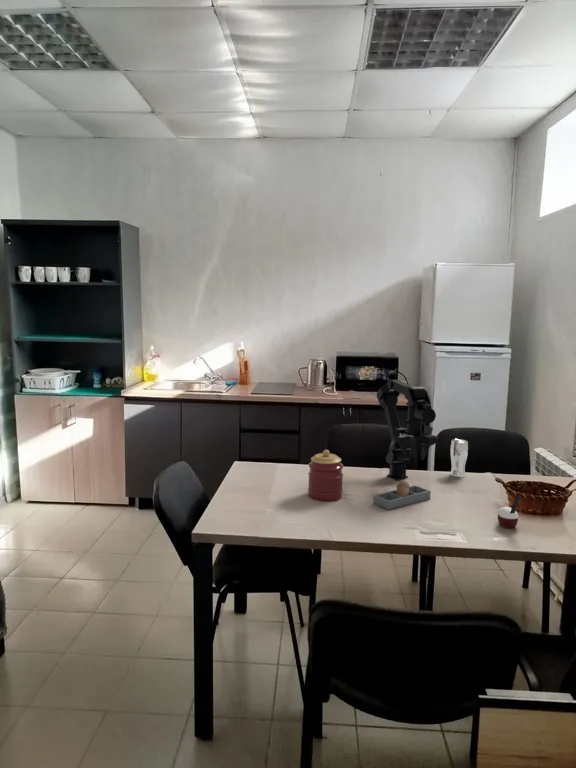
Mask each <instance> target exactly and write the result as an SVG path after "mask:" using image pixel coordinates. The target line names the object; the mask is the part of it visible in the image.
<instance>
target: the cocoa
mask: <svg viewBox="0 0 576 768" xmlns="http://www.w3.org/2000/svg"><path fill="white" fill-rule="evenodd" d="M521 497H522V495H521V494H518V495H516V496H515V499H514V501H513V504H512V505H511V507H510V506H501V507H499V508H498V509H497V520H498V524H499V525H500V526H501V527H502V526H503V527H502V528H505V527H506V528H505V529H513V528H515V527H516V526H517V524H518V522H519V514H518V512H517V508H518V505H519V502H520V500H521Z"/></svg>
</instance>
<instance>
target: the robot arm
mask: <svg viewBox="0 0 576 768" xmlns="http://www.w3.org/2000/svg"><path fill="white" fill-rule="evenodd" d="M400 395H403V396H404V398H405V399H406V400H407V402H406V403H405V405H406V406H407V420H404V423H405V424H407V426H406V427H407V428H406V427H402V426H401V424H400V420H399V416H398V411H397V404H398V401H399V396H400ZM376 398H377V400H378V404H379V406H380V407H381V408H383V410H384V413H385V417H386V423H387V426H388V431H389V435H390V440H391V442H390V445H389V448H388V450H389V452H387V454H386V456H385V459H386V460H385V461H386V463H387V464H389V473H388V474H386V477H387V478H388V477H389V478H390V479H394V480H399V481H400V480H403V479H408V478H409V476H408V475H407V467H406V465H407V464H410V462H411V459H412V449H411V445H410V442H409V441H408V440H409V439H410V438H412V439H416V440H418V441H419V442H420V443H418V449H419V455H420V460H421V461H423V460H424V459H425V457H426V456H427V453H428V451H429V449H430V447H432V446H434V445H435V444H438V437H437V435H434V434H433V429H434V427H432V426H430V425H426V424H431V423H433V422H435V420H436V419H437V418H436V417H437V414H436V411H435V410H434V409H433V408H432V403H431V399H430V396H429V394H428V390H427V389H426V387H425V386H423V385H422V386H421V385H411V384H409V383H407V382H404V381H402V380H401V379H389V380H388V381H387V382H386V383H384V384H383V385H382V386H381V387H379V389H378V390H377V392H376Z"/></svg>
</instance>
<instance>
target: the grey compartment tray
mask: <svg viewBox="0 0 576 768" xmlns="http://www.w3.org/2000/svg"><path fill="white" fill-rule="evenodd" d="M431 491H432V490H430V489H427V488H424V487H422V486H418V485H415V484H413V485H409V496H405V497H401V496H399V495H396V493H397V489H394V490H389V491H385V492H382V493H378V494H374V495H373V501H372V503H373V505H375V506H377V507H379V508H382V509H384V510H386V511H391V510H395V509H398V508H402V507H405V506H406V507H407V506H409V505H413V504H417V503H420V502H424V501H428V500H431V493H432V492H431Z"/></svg>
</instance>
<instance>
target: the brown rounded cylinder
mask: <svg viewBox="0 0 576 768" xmlns="http://www.w3.org/2000/svg"><path fill="white" fill-rule="evenodd" d="M409 487H410V484H409V483H408V481H406V480H399V481H398V482H397V484H396V490H397V493H396V495H399V496H401V497H405V496H409Z"/></svg>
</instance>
